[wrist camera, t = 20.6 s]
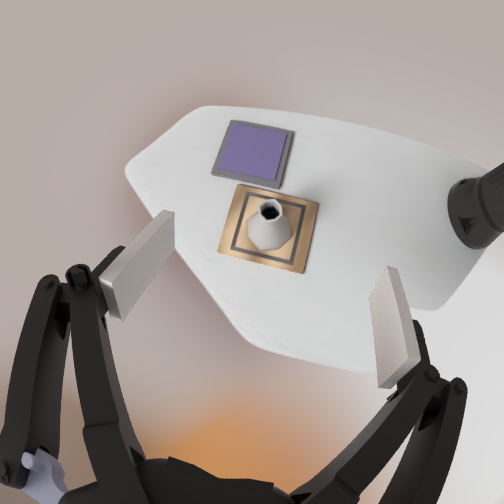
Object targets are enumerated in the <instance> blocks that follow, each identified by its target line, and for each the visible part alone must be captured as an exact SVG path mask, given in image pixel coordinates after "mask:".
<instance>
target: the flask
mask: <svg viewBox="0 0 504 504" xmlns="http://www.w3.org/2000/svg"><path fill="white" fill-rule="evenodd" d="M246 222H247V233H248V239H249V240H250V241H251V242H252V243H253V244H254V245H255V246H256V247H257V248H258V249H259V250H260V251H267V250H277V249H279V248H280V247H281V246H283V245H284V244H285V243H286V242H287V241H288V240H289V239H290V238H291V231H290V223H289V220H288V219H287V218H286V217H285V215H284V214H283V210H282V205H281V204H280V203H279V202H278V201H277V200H276V199H275V198H274V199H265V200H264V201H263V202H261V203H260V204H259V205H258V211H257V212H256V213H255V214H254V215H253V216H251V217H250V218H249V219H248V220H247V221H246Z"/></svg>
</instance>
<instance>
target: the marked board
mask: <svg viewBox="0 0 504 504" xmlns="http://www.w3.org/2000/svg"><path fill="white" fill-rule="evenodd" d="M274 198H275V199H276V200H277V201H278V202H279V203H280V204H281V205H282V210H283V214H284V215H285V217H286V218H287V219H288V220H289V223H290V231H291V238H290V239H289V240H288V241H287V242H286V243H285V244H284V245H283V246H281V247H280V248H279V249H277V250H267V251H260V250H259V249H258V248H257V247H256V246H255V245H254V244H253V243H252V242H251V241H250V240H249V239H248V233H247V222H246V221H247V220H248V219H249V218H250V217H251V216H253V215H254V214H255V213H256V212H257V211H258V205H259V204H260V203H261V202H263V201H264V200H265V199H274ZM317 206H318V204H317V203H313V202H309V201H305V200H302V199H298V198H294V197H290V196H286V195H282V194H278V193H273V192H269V191H265V190H261V189H256V188H252V187H247V186H243V185H238V184H237V187H236V190H235V193H234V196H233V200H232V203H231V206H230V210H229V213H228V216H227V220H226V223H225V227H224V230H223V233H222V237H221V240H220V244H219V247H218V251H217V252H218V253H222V254H225V255H229V256H233V257H237V258H241V259H245V260H249V261H253V262H256V263H260V264H264V265H268V266H272V267H276V268H280V269H284V270H288V271H292V272H296V273H300V274H303V270H304V266H305V262H306V257H307V253H308V249H309V244H310V240H311V235H312V230H313V226H314V221H315V216H316V211H317Z"/></svg>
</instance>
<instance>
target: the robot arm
mask: <svg viewBox="0 0 504 504" xmlns="http://www.w3.org/2000/svg"><path fill="white" fill-rule="evenodd" d="M448 213H449V217H450V221H451V224H452V226H453V229H454V231H455V233H456V234H457V236H458V237H459V239H460V240H461V241H462V242H463V243H464V244H465V245H466V246H468V247H469V248H472V249H481V248H484V247H487V246H489V245H490V244H491V243H492V242H493V241H494V240H495V239H496V238H497V237H498V236H499V235H500V234H501V233H502V232H504V163H502V164H501V165H499V166H498V167H496V168H495V169H493V170H492V171H490V172H489V173H487V174H485V175H484V176H482V177H478V178H469V179H463V180H461V181H459V182H458V183H456V184H455V185H454V186H453V187H452V188H451V190H450V192H449V195H448ZM174 249H175V240H174V212H172V211H167V210H163V211H162V212H160V213H159V214H158V215H157V216H156V217H155V218H154V219H153V220H152V221H151V222H150V223H149V224H148V225H147V226H146V227H145V228H144V229H143V230H142V231H141V232H140V233H139V234H138V235H137V236H136V237H135V239H134V240H133V241H132V242H131V243H130V244H129V245H128V246H127V247H124V246H119V247H117V248H115V249H113V250H112V251H111V252H110V253H109V254H108V255H107V257H105V258H104V259H103V261H102V262H101V263H100V264H99V265H98V266H97V267H96V268H95V269H94V270H93V271H92V272H91V271H90V268H89V267H88V266H87V265H85V264H77V265H74V266H72V267H71V268H69V269H68V270H67V272H66V274H65V277H66V280H67V282H68V283H60V281H59V279H58V277H57V276H56V275H53V274H50V275H47V276H44V277H43V278H42V279H41V280H40V281H39V283H38V285H37V287H36V290H35V293H34V295H33V298H32V301H31V304H30V307H29V309H28V312H27V315H26V319H25V322H24V325H23V328H22V332H21V335H20V339H19V342H18V346H17V350H16V354H15V358H14V363H13V367H12V372H11V378H10V383H9V389H8V395H7V403H6V411H5V422H4V426H3V429H2V431H1V434H0V483H2V484H4V485H6V486H9V487H12V488H15V489H19V490H22V491H24V492H25V493H26V494H28V495H29V496H31V497H32V498H33V499H35V500H36V501H38V502H39V503H41V504H357V503H358V502H359V500H360V498H359V496H360V494H361V493H362V491H363V490H364V489H365V488H366V487H367V486H368V485H369V484H370V483H371V482H372V481H373V479H374V478H375V477H376V476H377V475H378V474H379V472H380V471H381V470H382V469H383V468H384V466H385V465H386V464H387V463H388V461H389V460H390V459H391V457H392V456H393V455H394V454H395V452H396V451H397V450H398V448H399V447H400V446H401V444H402V443H403V441H404V440H405V439H406V437H407V436H408V434H409V433H410V431H411V430H412V428H413V427H414V429H413V432H412V434H411V437H410V440H409V442H408V444H407V447H406V449H405V452H404V454H403V456H402V459H401V461H400V463H399V465H398V467H397V470H396V471H395V473H394V475H393V478H392V479H391V482H390V483H389V485H388V487H387V489H386V491H385V493H384V495H383V496H382V498H381V500H380V502H379V503H378V504H436V503H437V501H438V499H439V496H440V494H441V491H442V489H443V486H444V484H445V481H446V478H447V475H448V472H449V470H450V466H451V463H452V460H453V457H454V453H455V450H456V446H457V443H458V439H459V435H460V430H461V426H462V421H463V416H464V411H465V405H466V399H467V393H468V392H467V386H466V384H465V382H464V381H463V380H462V379H461V378H458V377H457V378H454V379H453V380H452V381H450V382H449V381H447V380H445V379H442V378H440V374H439V372H438V370H437V369H436V368H435V367H434V366H433V365H431V364H430V359H429V355H428V350H427V346H426V343H425V338H424V334H423V331H422V327H421V326H420V324H419V322H418V321H417V320H413V319H412V318H411V314H410V311H409V306H408V303H407V299H406V296H405V292H404V289H403V286H402V283H401V279H400V276H399V273H398V270H397V269H396V268H393V267H389V266H386V268H385V270H384V272H383V273H382V275H381V277H380V279H379V281H378V283H377V284H376V286H375V288H374V290H373V291H372V293H371V295H370V297H369V304H370V311H371V318H372V326H373V334H374V343H375V353H376V365H377V378H378V388H387V389H391V388H392V387H393V386H394V385H395V384H396V383H397V390H396V391H395V392H394V393H393V394H392V395H391V396H389V397H388V398H387V400H388V401H387V402H386V403H385V405H384V406H383V407H382V408H381V410H380V411H379V412H378V413H377V414H376V416H375V417H374V418H373V419H372V420H371V421H370V423H369V424H368V425H367V426H366V427H365V428H364V429H363V430H362V431H361V432H360V433H359V435H358V436H357V437H356V438H355V439H354V440H353V441H352V442H351V443H350V444H349V445H348V446H347V447H346V448H345V449H344V450H343V451H342V452H341V453H340V454H339V455H338V456H337V457H336V458H335V459H334V460H332V461H331V462H330V463H329V464H328V465H327V466H326V467H325V468H324V469H323V470H321V471H320V472H319V473H318V474H317V475H316V476H314V478H312V479H311V480H310V481H308V482H307V483H305V484H303V485H302V486H300V487H298V488H297V489H296V490H294V491H293V492H291V493H290V494H289V495H288V494H287V493H285V492H284V491H282V490H280V489H279V488H277V487H274V483H271V482H264V481H259V480H253V479H222V478H217V477H215V476H214V475H212V474H210V473H208V472H206V471H204V470H202V469H201V468H199V467H197V466H195V465H193V464H190V463H187V462H184V461H181V460H178V459H175V458H172V457H170V456H169V458H168V459H162V458H157V459H149V460H147V459H146V457H145V455H144V452H143V450H142V447H141V445H140V443H139V442H138V440H137V438H136V435H135V433H134V430H133V427H132V424H131V421H130V418H129V415H128V412H127V409H126V405H125V402H124V399H123V396H122V392H121V388H120V384H119V381H118V376H117V372H116V368H115V364H114V360H113V355H112V350H111V346H110V340H109V335H108V330H107V324H106V318H105V316H104V315H105V314H106V312H107V311H109V313H110V317H111V318H114V319H116V320H118V321H121V322H123V321H124V319H125V318H126V316H127V315H128V313H129V312H130V310H131V309H132V308H133V306H134V305H135V303H136V302H137V300H138V299H139V297H140V296H141V294H142V293H143V292H144V290H145V289H146V287H147V286H148V284H149V283H150V282H151V280H152V279H153V278H154V276H155V275H156V273H157V272H158V271H159V269H160V268H161V266H162V265H163V264H164V262H165V261H166V260H167V258H168V257H169V256H170V254H171V253H172V252H173V250H174ZM70 331H71V338H72V349H73V359H74V367H75V374H76V381H77V387H78V393H79V398H80V404H81V408H82V413H83V417H84V423H85V426H84V428H83V437H84V441H85V445H86V448H87V451H88V455H89V459H90V462H91V465H92V468H93V471H94V474H95V476H96V479H97V481H95V482H93V483H90V484H88V485H85V486H82V487H79V488H77V489H74V490H71V491H69V490H68V489H67V487H66V485H65V483H64V480H63V478H64V476H65V473H64V470H63V469H62V466H61V464H60V463H59V461H58V454H59V445H60V412H61V396H62V385H63V376H64V368H65V360H66V354H67V347H68V341H69V336H70ZM414 425H415V426H414Z"/></svg>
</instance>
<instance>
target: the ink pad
mask: <svg viewBox="0 0 504 504" xmlns="http://www.w3.org/2000/svg"><path fill="white" fill-rule="evenodd" d="M292 134H293V132H291V131H287V130H282V129H278V128H273V127H268V126H263V125H257V124H252V123H246V122H240V121H234V120H231V121H230V123H229V126H228V128H227V131H226V134H225V136H224V139H223V142H222V144H221V147H220V150H219V152H218V155H217V158H216V161H215V164H214V166H213V169H212V172H211V174H212V175H214V176H219V177H224V178H229V179H234V180H239V181H243V182H248V183H253V184H257V185H261V186H266V187H270V188H274V189H278V190H279V186H280V182H281V178H282V174H283V170H284V166H285V162H286V158H287V154H288V150H289V146H290V142H291V138H292Z"/></svg>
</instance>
